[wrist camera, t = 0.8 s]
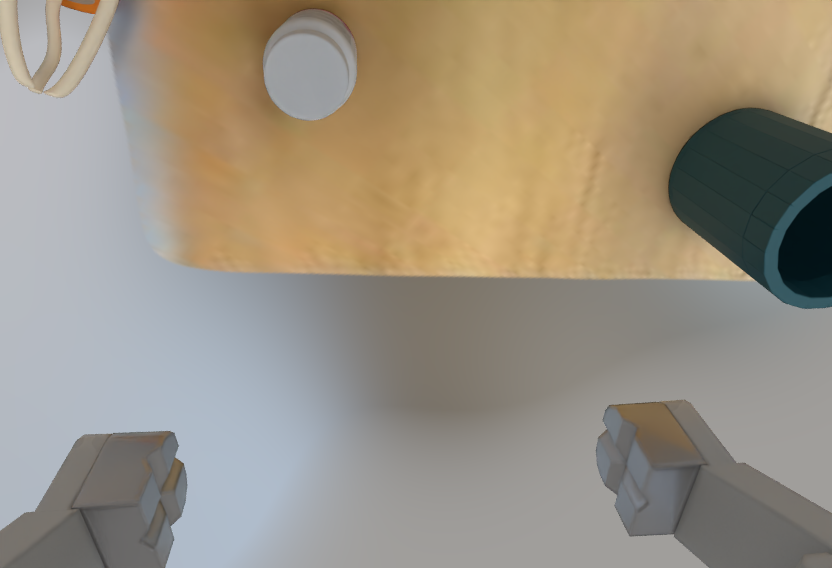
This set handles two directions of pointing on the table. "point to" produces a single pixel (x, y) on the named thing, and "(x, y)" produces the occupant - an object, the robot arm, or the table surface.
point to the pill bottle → (310, 64)
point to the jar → (762, 200)
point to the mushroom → (55, 44)
